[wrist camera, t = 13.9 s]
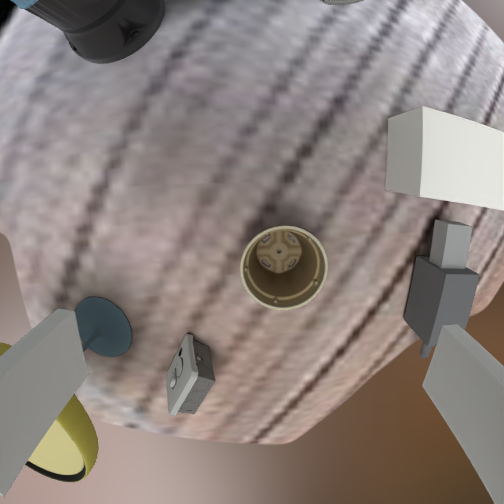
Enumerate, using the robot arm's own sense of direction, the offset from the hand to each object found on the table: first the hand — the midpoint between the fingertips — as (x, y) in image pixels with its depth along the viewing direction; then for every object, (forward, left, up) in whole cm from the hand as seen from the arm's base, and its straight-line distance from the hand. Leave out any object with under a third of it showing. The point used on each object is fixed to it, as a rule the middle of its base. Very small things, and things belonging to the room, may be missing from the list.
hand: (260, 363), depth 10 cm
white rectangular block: (-10, +26, -32) cm, 42 cm away
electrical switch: (+22, -9, -32) cm, 40 cm away
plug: (+8, +26, -31) cm, 41 cm away
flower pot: (+4, +3, -32) cm, 32 cm away
